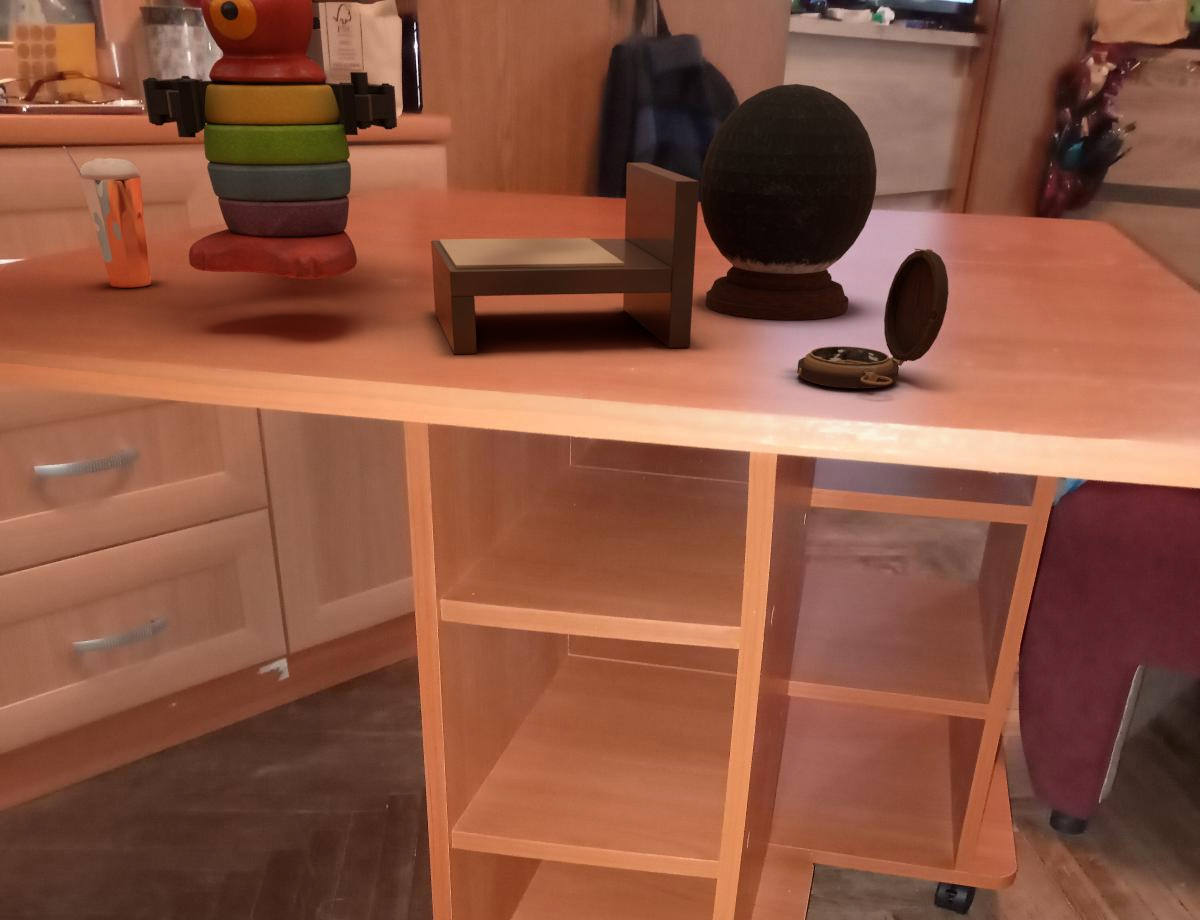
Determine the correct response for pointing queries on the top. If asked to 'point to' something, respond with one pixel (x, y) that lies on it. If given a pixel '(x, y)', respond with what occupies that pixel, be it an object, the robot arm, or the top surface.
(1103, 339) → the top surface
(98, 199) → the milkshake
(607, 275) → the dollhouse bed
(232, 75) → the stacking bear
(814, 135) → the dark ball on base
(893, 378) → the compass
